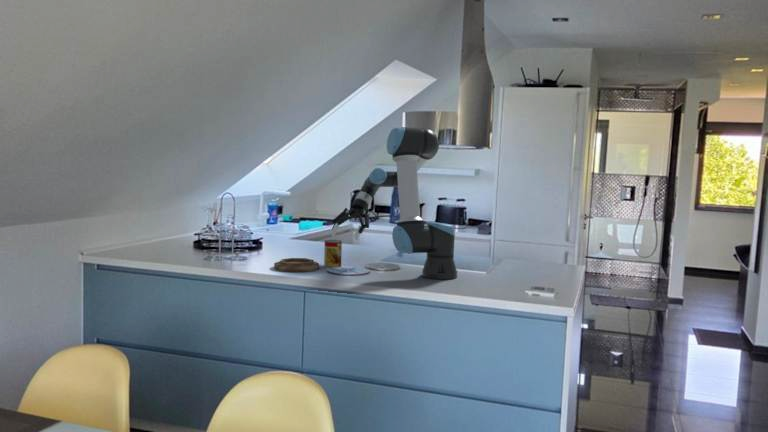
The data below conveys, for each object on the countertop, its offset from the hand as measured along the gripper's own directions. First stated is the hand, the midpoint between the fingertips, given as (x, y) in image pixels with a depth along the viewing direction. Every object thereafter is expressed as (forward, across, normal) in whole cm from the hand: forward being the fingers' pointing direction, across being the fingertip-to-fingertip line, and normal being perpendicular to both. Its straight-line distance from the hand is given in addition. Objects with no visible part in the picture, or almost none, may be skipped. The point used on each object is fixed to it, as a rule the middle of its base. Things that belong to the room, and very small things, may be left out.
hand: (343, 236), depth 296 cm
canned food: (+16, -1, -3) cm, 16 cm away
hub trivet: (+25, +9, +7) cm, 28 cm away
